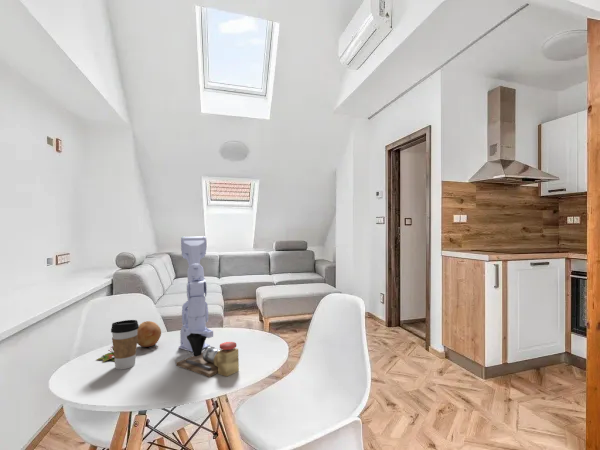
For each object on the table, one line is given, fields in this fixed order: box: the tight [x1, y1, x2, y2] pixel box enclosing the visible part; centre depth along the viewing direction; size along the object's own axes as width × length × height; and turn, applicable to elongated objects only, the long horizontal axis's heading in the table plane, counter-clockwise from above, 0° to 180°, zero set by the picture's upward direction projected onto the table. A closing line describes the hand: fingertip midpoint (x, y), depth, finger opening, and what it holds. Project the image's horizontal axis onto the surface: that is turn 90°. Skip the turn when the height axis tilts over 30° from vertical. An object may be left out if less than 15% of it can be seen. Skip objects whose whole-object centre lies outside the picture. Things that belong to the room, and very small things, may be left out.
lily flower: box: [95, 345, 115, 364], centre depth 117 cm, size 12×12×5 cm
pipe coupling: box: [202, 345, 223, 363], centre depth 106 cm, size 6×5×5 cm
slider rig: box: [175, 341, 240, 378], centre depth 106 cm, size 22×11×9 cm, turn 55°
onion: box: [137, 320, 162, 348], centre depth 128 cm, size 10×10×10 cm
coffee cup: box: [110, 319, 140, 370], centre depth 108 cm, size 8×8×15 cm
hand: (197, 355), depth 110 cm, fingers closed
